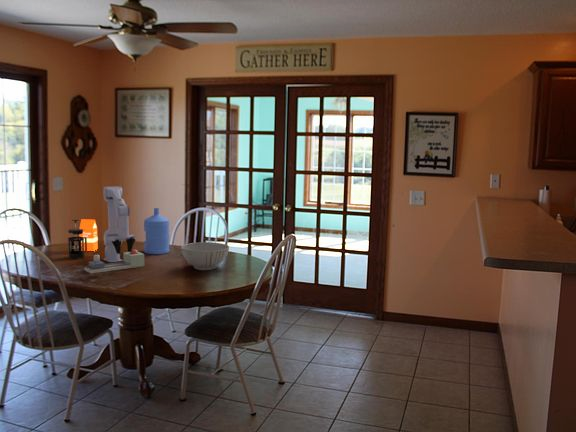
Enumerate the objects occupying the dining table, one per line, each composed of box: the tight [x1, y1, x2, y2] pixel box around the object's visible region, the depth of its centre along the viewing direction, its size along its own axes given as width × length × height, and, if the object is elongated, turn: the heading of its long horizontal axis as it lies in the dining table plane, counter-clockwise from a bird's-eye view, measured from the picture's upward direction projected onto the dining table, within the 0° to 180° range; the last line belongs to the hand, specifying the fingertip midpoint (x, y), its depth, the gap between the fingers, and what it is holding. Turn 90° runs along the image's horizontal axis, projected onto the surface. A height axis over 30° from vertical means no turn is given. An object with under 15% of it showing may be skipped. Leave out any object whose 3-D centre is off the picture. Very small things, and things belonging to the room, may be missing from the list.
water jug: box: [143, 207, 170, 255], centre depth 356 cm, size 16×16×28 cm
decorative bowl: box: [180, 241, 230, 271], centre depth 319 cm, size 27×27×12 cm
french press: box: [67, 218, 88, 260], centre depth 336 cm, size 12×9×23 cm
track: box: [84, 251, 145, 274], centre depth 313 cm, size 10×30×7 cm, turn 130°
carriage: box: [88, 254, 106, 268], centre depth 306 cm, size 7×6×6 cm
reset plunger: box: [130, 248, 138, 254], centre depth 319 cm, size 4×4×4 cm
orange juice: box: [78, 218, 99, 252], centre depth 356 cm, size 8×9×20 cm
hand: (124, 252), depth 306 cm, fingers open, 7 cm apart
